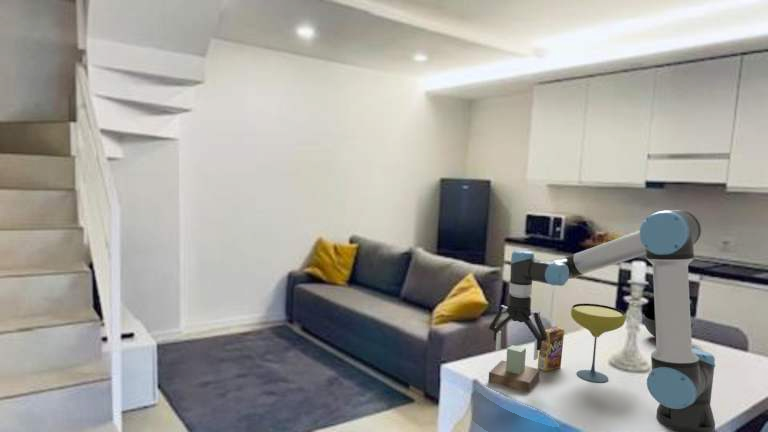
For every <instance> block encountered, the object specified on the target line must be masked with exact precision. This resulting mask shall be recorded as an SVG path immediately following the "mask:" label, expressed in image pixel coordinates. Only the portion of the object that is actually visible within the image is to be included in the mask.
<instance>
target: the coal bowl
mask: <svg viewBox="0 0 768 432" xmlns="http://www.w3.org/2000/svg"><path fill="white" fill-rule="evenodd" d="M642 322H643V324H644V326H645V328H646V330H647V332H648V333H649V334H651V336H653V337H654V338H656V323H655V302H654V299H652V300H651V301H649V302H648V304H647V309H646V311H645V312H644V314H643V315H642ZM693 326H694V322H693V321H692V320H691V330H692V329H693Z"/></svg>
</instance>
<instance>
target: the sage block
mask: <svg viewBox="0 0 768 432" xmlns="http://www.w3.org/2000/svg"><path fill="white" fill-rule="evenodd" d="M526 353H527V348H525V347H522V346H518V345H513V344H512V345H510V346H509V347H507V349H506V360H505V361H506V371H509V372H512V373H516V374H521V373H522V372H523V371H524V370H525V366H526Z"/></svg>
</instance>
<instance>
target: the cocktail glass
mask: <svg viewBox="0 0 768 432" xmlns="http://www.w3.org/2000/svg"><path fill="white" fill-rule="evenodd" d="M570 315H571V318H572V319H573V321H575V322H576V324H578V325H579V326H580V327H583V328H584V329H586V330H587V331H589V333H590V334H591V335H592V337H593V338H594V344H593V354H592V362H591V363H592V365H591V369H581V370H578V371H577V372H576V375H577V376H578V377H579V378H580V379H582V380H584V381H588V382H591V383H599V384H600V383H602V384H603V383H607V382H608V381H609V377H608V376H607V375H606V374H604V373H602V372H599V371H596V370H595V363H596V351H597V350H596V347H597V338H600V337H601V336H602V335H603V334H605V333H607V332H612V331H615V330H618V329H620V328H622V327H623V326H624V325H625V322H626V314H625V312H624V311H623V310H621V309H618V308H616V307H611V306H608V305H603V304H598V303H577V304H573V305H572V307H571V310H570Z"/></svg>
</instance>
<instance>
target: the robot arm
mask: <svg viewBox="0 0 768 432" xmlns="http://www.w3.org/2000/svg"><path fill="white" fill-rule="evenodd" d="M701 235H702V225H701V222H700V221H699V219H698V218H697V216H695V215H694V214H693V213H691V212H689V211H687V210H683V209H672V210H667V209H666V210H665V209H664V210H659V211H656V212H653V213H652V214H649V215H648V216H647V217H646V218H645V219H644V220H643V222H642V223H641V226H640V229H639V230H637V231H634V232H632V233H629V234H626V235H623V236H621V237H617V238H615V239H613V240H610V241H607V242H604V243H601V244H599V245H596V246H593V247H590V248H587V249H585V250H582V251H579V252H576V253H574V254H570V255H568V256H565V257H561V258H556V259H551V260H546V259H545V260H544V259H537V258H535V254H534V252H533V251H530V250H523V249H522V250H520V249H519V250H514V251H512V253H511V258H510V259H511V260H510V263H509V264H510V279H509V290H508V291H509V292H508V293H509V295H508V304H507V305H508V306H505V304H501V305H500V306H499V307H498V312H497V314H496V315H495V317H494V318H493V320H492V322H491V323H490V325H489V327H488V329H489V330H491V331H493V341H494V342H495V351H496V352H498V351H500V350H501V345H502V344H501V343H502V341H501V340H502V331H500V330H502V328H503V327H505V325H506V324H507V323H509V322H510V321H513V322H519V323H524V324H525V326H527V328H528V329H529V330H530V332H531V333H532V335H533V336H534V338H535V340H534V344H533V346H534V348H533V360H534V361H536V360H538V358H539V351H540V350H541V348H542V341H546V340H547V339H548V336H547V334H546V331H545V329H546V328H545V327H544V324H543V322H542V319H541V312H540V311H539V310H537V311H532V309H531V308H532V307H531V305H532V297H531V296H532V292H533V291H532V289H533V282H538V283H543V284H546V285H551V286H559V287H563V286H564V285H566V283H567V282H568V280H571V279H575V278H577V277H580V276H583V275H585V274H588V273H592V272H595V271H598V270H601V269H604V268H607V267H610V266H614V265H616V264H620V263H623V262H627V261H630V260H632V259H635V258H638V257H642V256H644V255H645V257H646V261H648V262H649V263H650V264H651V265H652V279H653V296H654V297H653V298H654V299H653V300H654V302H655V323H656V337H655V338H656V340H655V341H656V343H655V344H656V349H655V350H653V351H652V352H651V354H650V358H651V359H650V361H651V362H650V363H651V371H650V372H649V373H648V375H647V378H646V386H647V390H648V392H649V394H650V395H651V396H652V398H654V400H655V401H657V403H659V404H658V406H657V409H656V419H657V421H658V422H659V423H660V424H662V426H663V425H664V426H665V427H666V428H668V429H670V430H672V431H674V432H715V430H716V422H715V418H714V415H713V410H712V406H711V401H712V400H711V399H712V393H713V392H712V391H713V383H714V382H713V381H714V372H715V367H716V363H715V361H716V359H715V356H714V355H713V354H712V353H710V352H708V351H705V350H702V349H699V348H693V344H692V343H693V341H692V340H693V339H692V329H691V321H692V319H691V304H690V303H691V302H690V285H689V284H690V283H689V282H690V281H689V278H690V277H689V264H690V263H692V261H693V260H694V259H695V252H694V250H695V249H694V248H695V247H694V245H695V244H697V242H698V241H699V239H700V237H701ZM506 311H507V314H508V316H507V317H505V319H504V320H502V322H500V323H499V321H500V319H501V317H502V316H503V314H504V313H505V312H506ZM531 316H532V318H533V319H534V321H535V324H536V326H535V325H534V323H533V321H532V320H531V318H530V317H531ZM498 323H499V324H498ZM497 324H498V325H497ZM536 327H537V328H536Z"/></svg>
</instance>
